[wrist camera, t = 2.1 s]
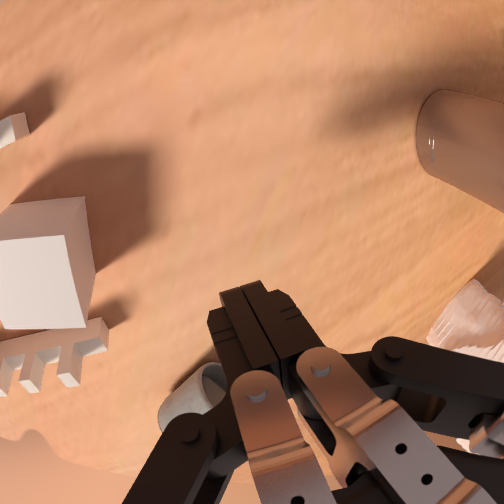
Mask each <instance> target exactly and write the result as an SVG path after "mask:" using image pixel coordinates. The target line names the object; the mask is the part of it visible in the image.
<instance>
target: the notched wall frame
mask: <svg viewBox="0 0 504 504" xmlns="http://www.w3.org/2000/svg"><path fill="white" fill-rule="evenodd" d="M28 135H30V133H29V128H28V124H27V120H26V115H25V112H23V113H19V114H14V115H10V116H8V117H6V118H4V119H2V120H0V149H2V148H3V147H5V146H7V145H9V144H11V143H13V142H16V141H18V140H20V139H22V138H24V137H26V136H28ZM108 340H109V329H108V327H107V326H106V324H105V322H104V320H103V319H102V317H98V318H94V319H90V320H87V326H86V328H63V329H50V330H46V331H42V332H38V333H34V334H30V335H26V336H21V337H17V338H13V339H9V340H4V341H0V397H1V396H8V392H9V387H10V383H11V379H12V375H13V371H14V370H16V369H21V368H22V369H21V373H20V377H19V382H20V383H21V384H22V385H23V387H24V388H25V389H26V390H27V391H28V392H29V393H35V392H40V391H41V385H42V379H43V373H44V368H45V364H48V363H53V362H58V361H59V362H58V368H57V376H58V377H59V379H60V380H61V381H62V382H63V383H64V384H65V386H66V387H67V388H68V387H74V386H80V380H81V368H82V358H83V356H87V355H91V354H96V353H100V352H105V351H108Z"/></svg>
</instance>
